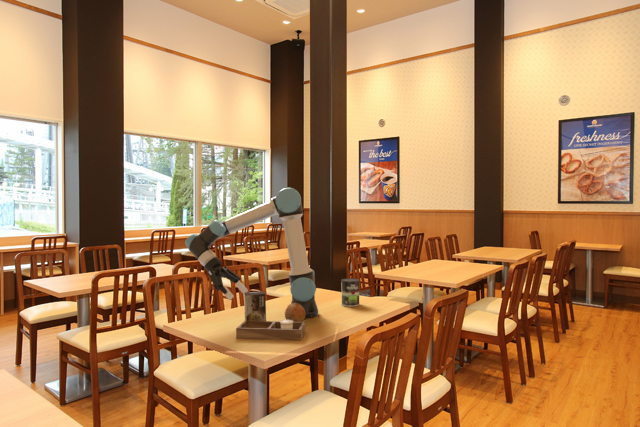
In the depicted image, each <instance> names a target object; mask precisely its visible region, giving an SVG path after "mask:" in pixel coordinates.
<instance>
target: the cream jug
mask: <svg viewBox="0 0 640 427" xmlns="http://www.w3.org/2000/svg"><path fill="white" fill-rule="evenodd" d="M280 324H281V329H293V320H286V319H282V320H280Z"/></svg>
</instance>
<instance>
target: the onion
mask: <svg viewBox="0 0 640 427" xmlns="http://www.w3.org/2000/svg"><path fill="white" fill-rule="evenodd" d="M284 318H285V320H293V322H304V320H305V319H306V318H305V310H304V308H303V307H302V306H301V305H300V304H298V303H292V304H291V303H290V304H289V303H288V305H287V307H286V309H285V311H284Z"/></svg>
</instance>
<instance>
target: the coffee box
mask: <svg viewBox="0 0 640 427" xmlns="http://www.w3.org/2000/svg"><path fill="white" fill-rule="evenodd" d="M243 295H244V321H267V304H266V301H267V299H266V298H267V297H266V293H265V291H263V290H261V291H250V292H248V291H247V292H246V293H244V294H243Z"/></svg>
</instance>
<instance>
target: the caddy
mask: <svg viewBox="0 0 640 427" xmlns="http://www.w3.org/2000/svg"><path fill="white" fill-rule="evenodd" d="M280 321H281V320H280ZM280 321H278V320H266V321H245V320H244V321H243V322H241V323H240V324H239V325H238V326H237V327H236V328H235V329H236V330H235V332H236V334H235V335H236V336H235V338H236V339H237V340H238V339H239V340H240V339H242V340H266V341H267V340H271V341H273V340H274V341H300V342H301V341H302V339H303V337H304V335H305V334H306V321H303V322H293V329H281V324H280Z"/></svg>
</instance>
